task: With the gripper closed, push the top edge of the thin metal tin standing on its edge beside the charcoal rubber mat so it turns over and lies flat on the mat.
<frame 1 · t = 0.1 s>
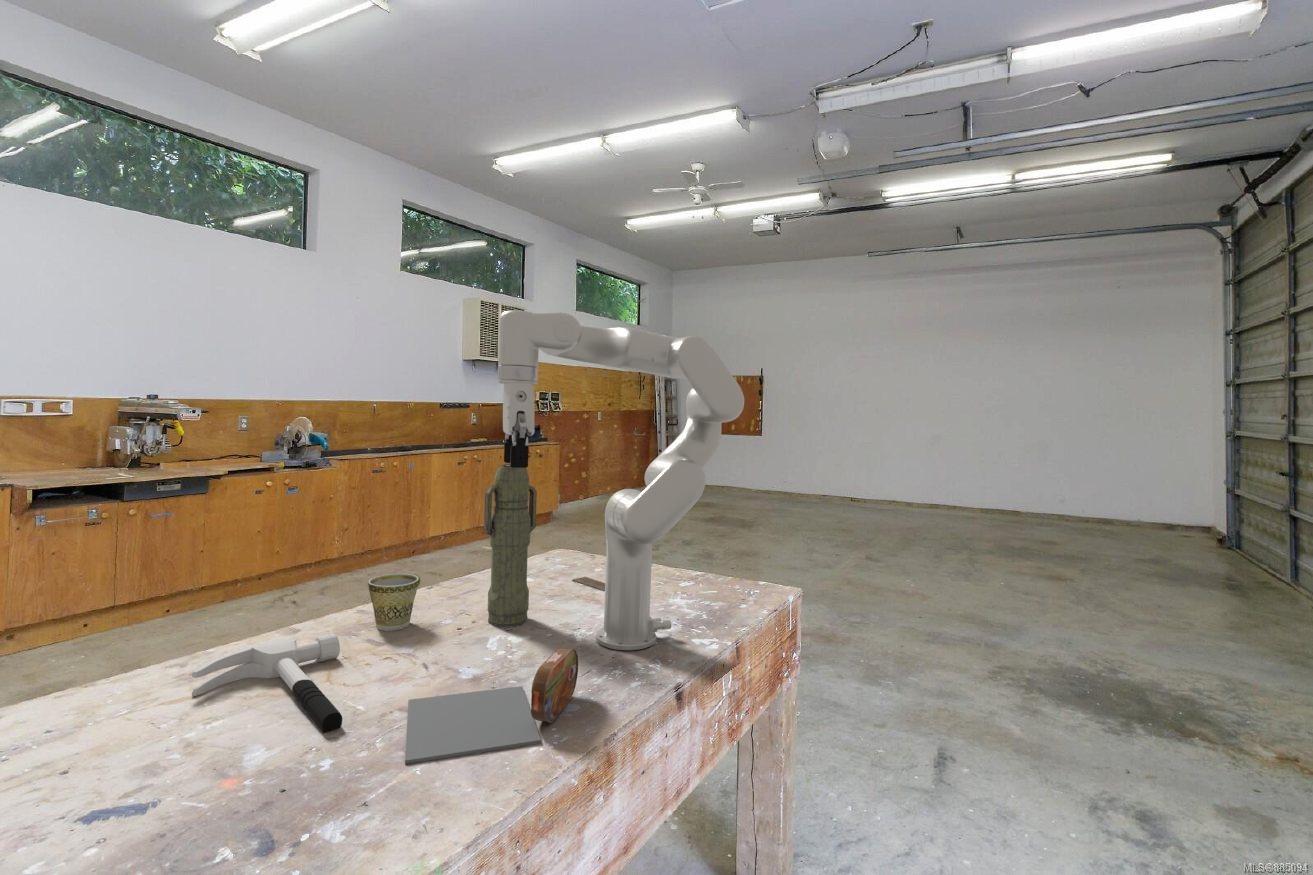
hand: (515, 465, 119), 37 cm above the table, tool pointing down, fingers open, 9 cm apart
claw hammer: (288, 702, 99), on the table
ceramic cup: (397, 624, 134), on the table
wooden plank: (598, 588, 169), on the table
mat: (470, 721, 94), on the table
tin: (552, 710, 98), on the table, touching mat
thermos: (508, 621, 139), on the table
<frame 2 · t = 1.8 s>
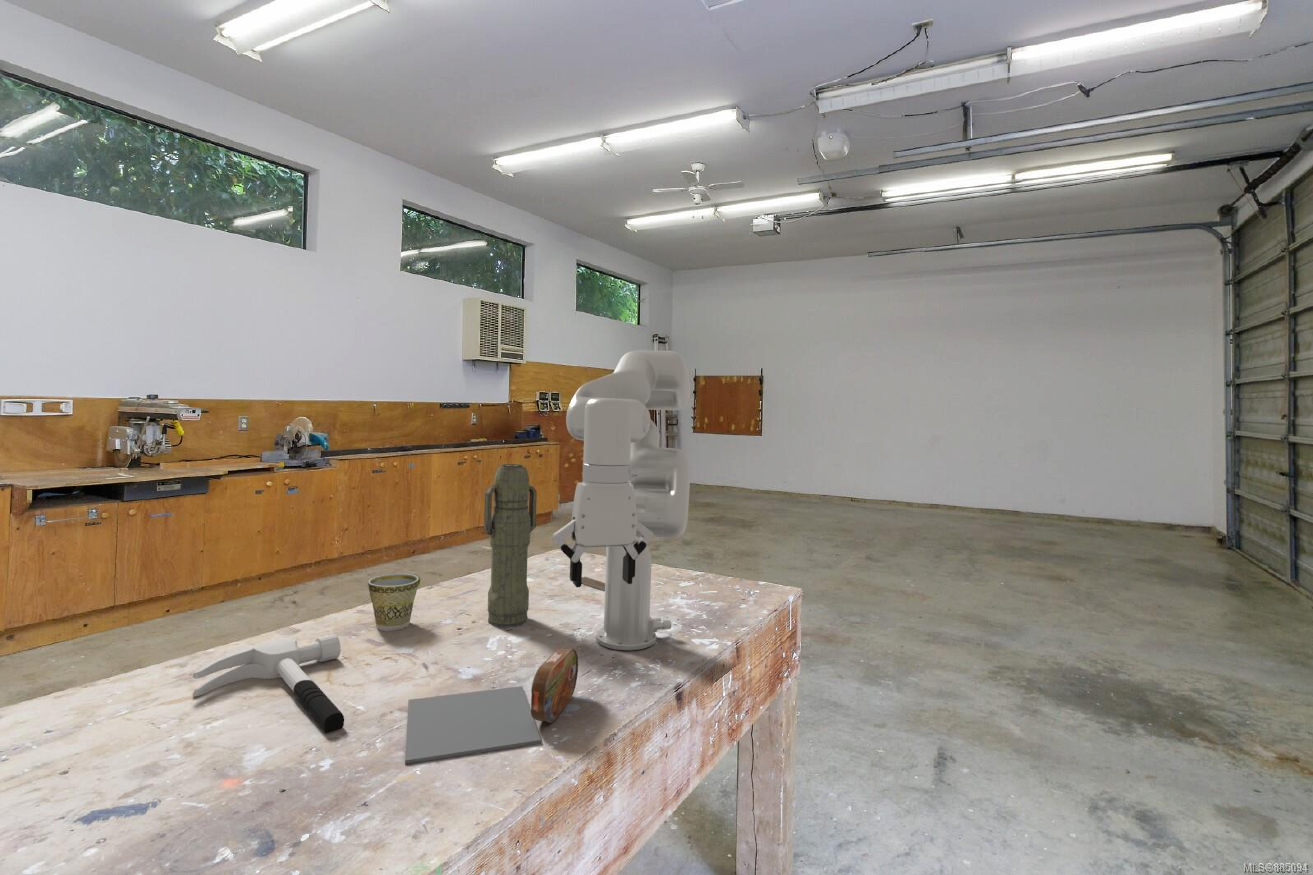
hand: (602, 582, 100), 20 cm above the table, tool pointing down, fingers open, 7 cm apart
nothing on the table moved.
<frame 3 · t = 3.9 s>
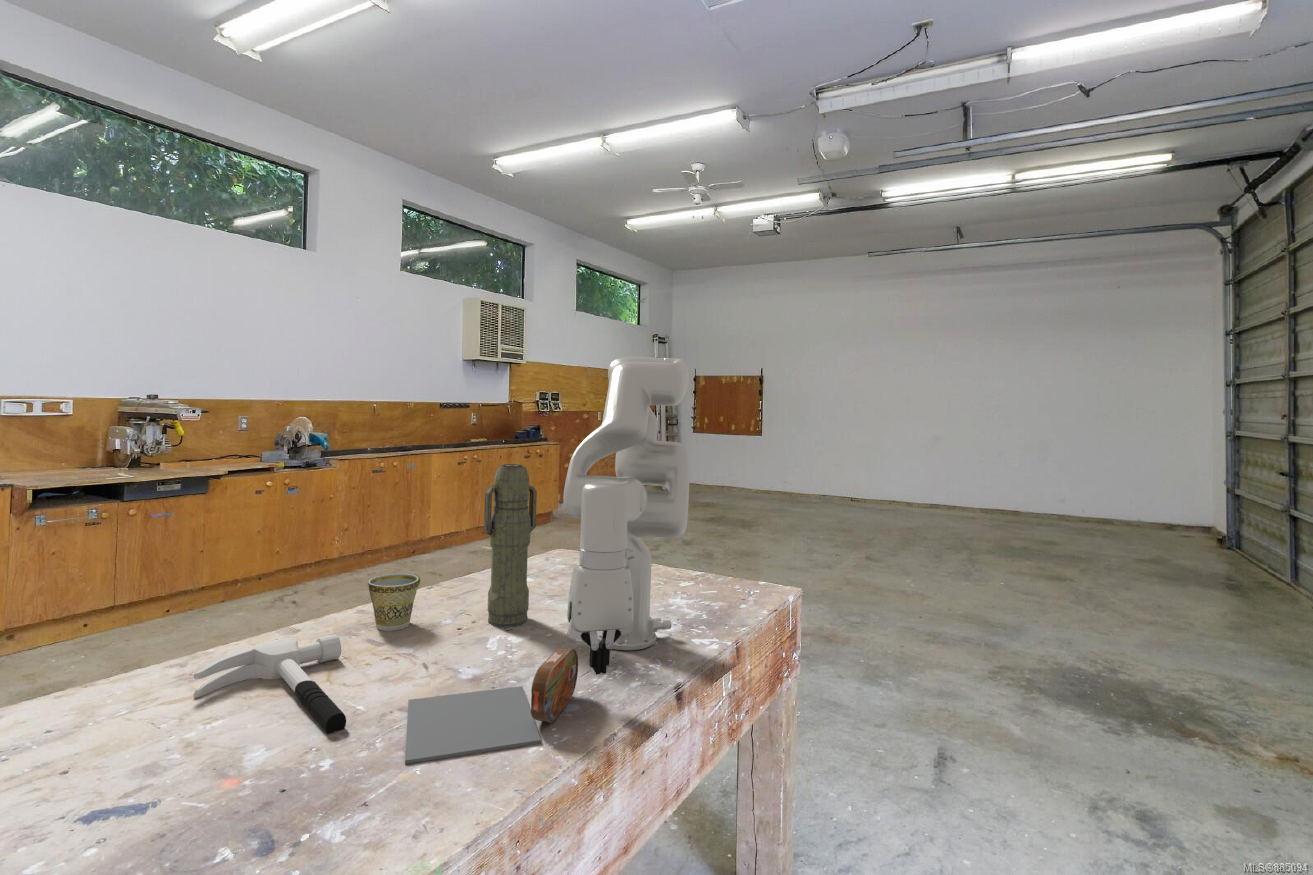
hand: (599, 670, 100), 6 cm above the table, tool pointing down, fingers closed
nothing on the table moved.
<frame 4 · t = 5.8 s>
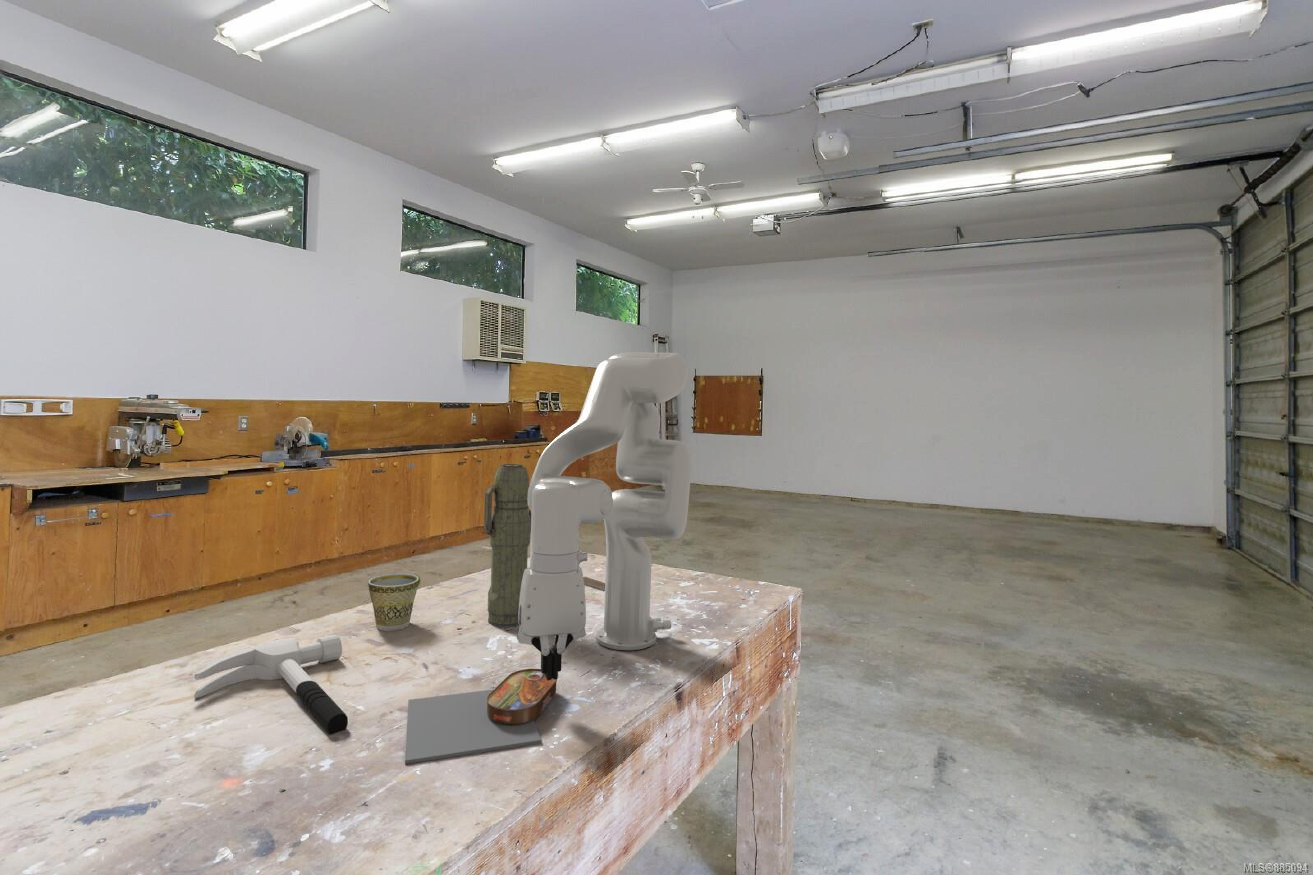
hand: (550, 676, 98), 6 cm above the table, tool pointing down, fingers closed
tin: (548, 700, 98), point 2 cm above the table, touching mat
everything else where it was.
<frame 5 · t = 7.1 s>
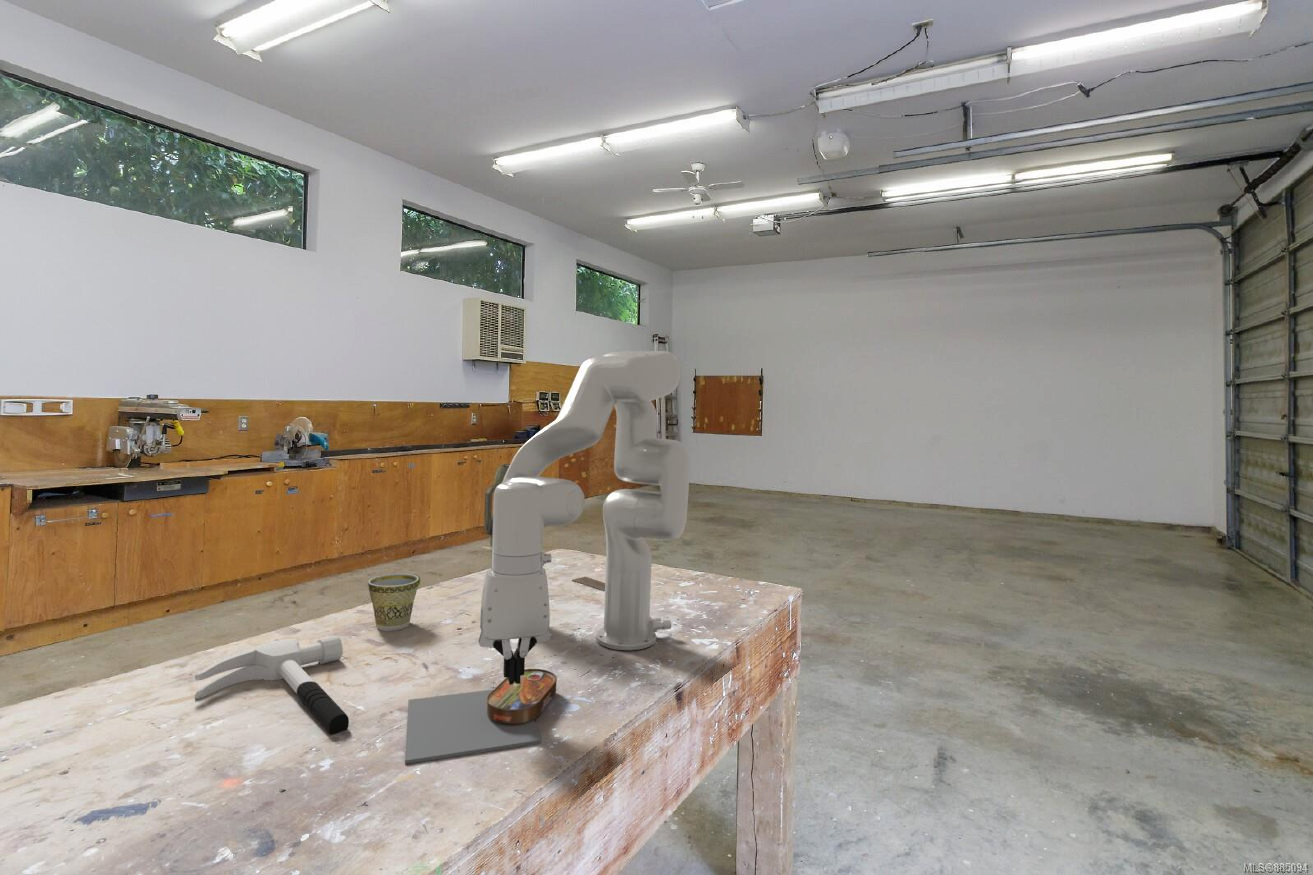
hand: (513, 680, 95), 6 cm above the table, tool pointing down, fingers closed
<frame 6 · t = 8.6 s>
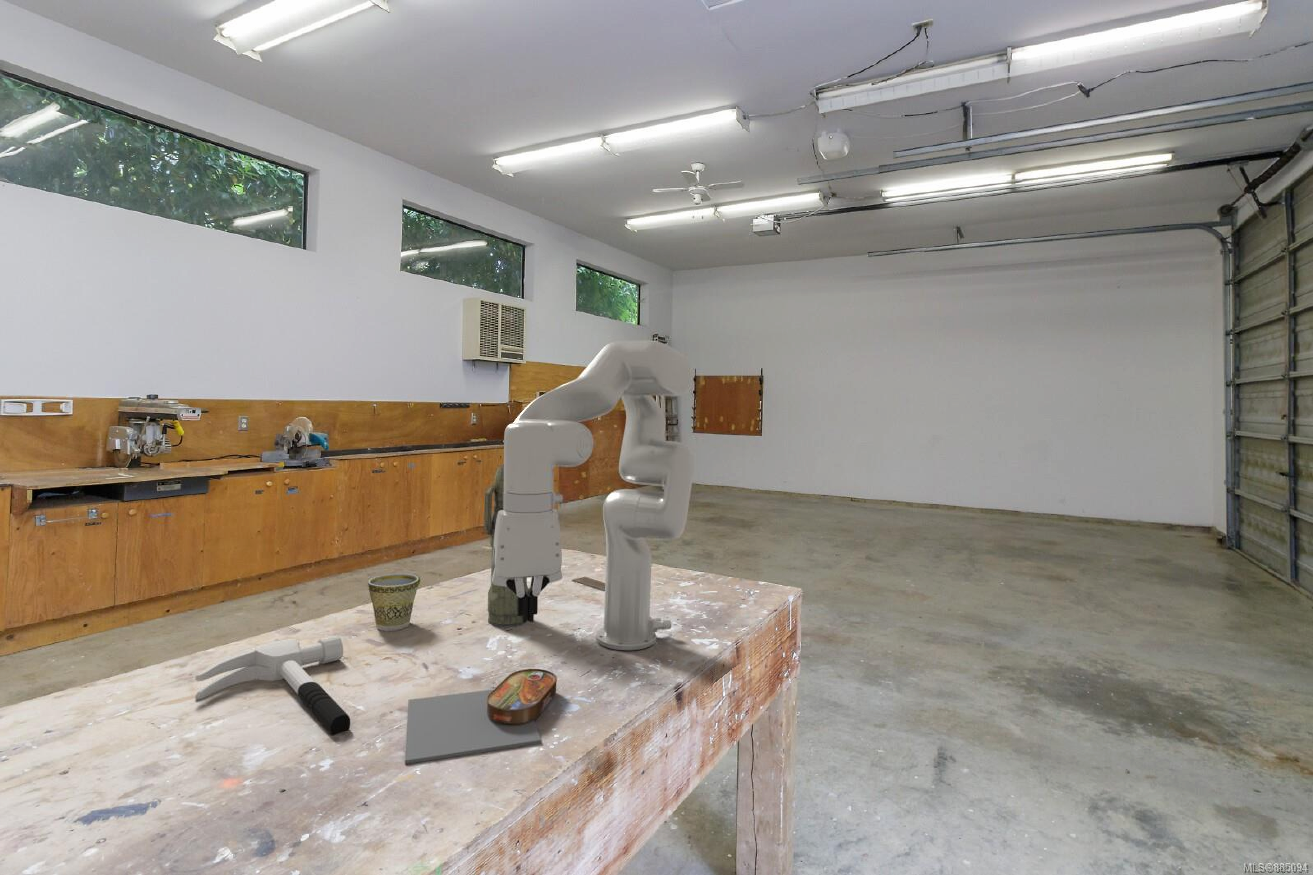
hand: (526, 619, 96), 15 cm above the table, tool pointing down, fingers closed
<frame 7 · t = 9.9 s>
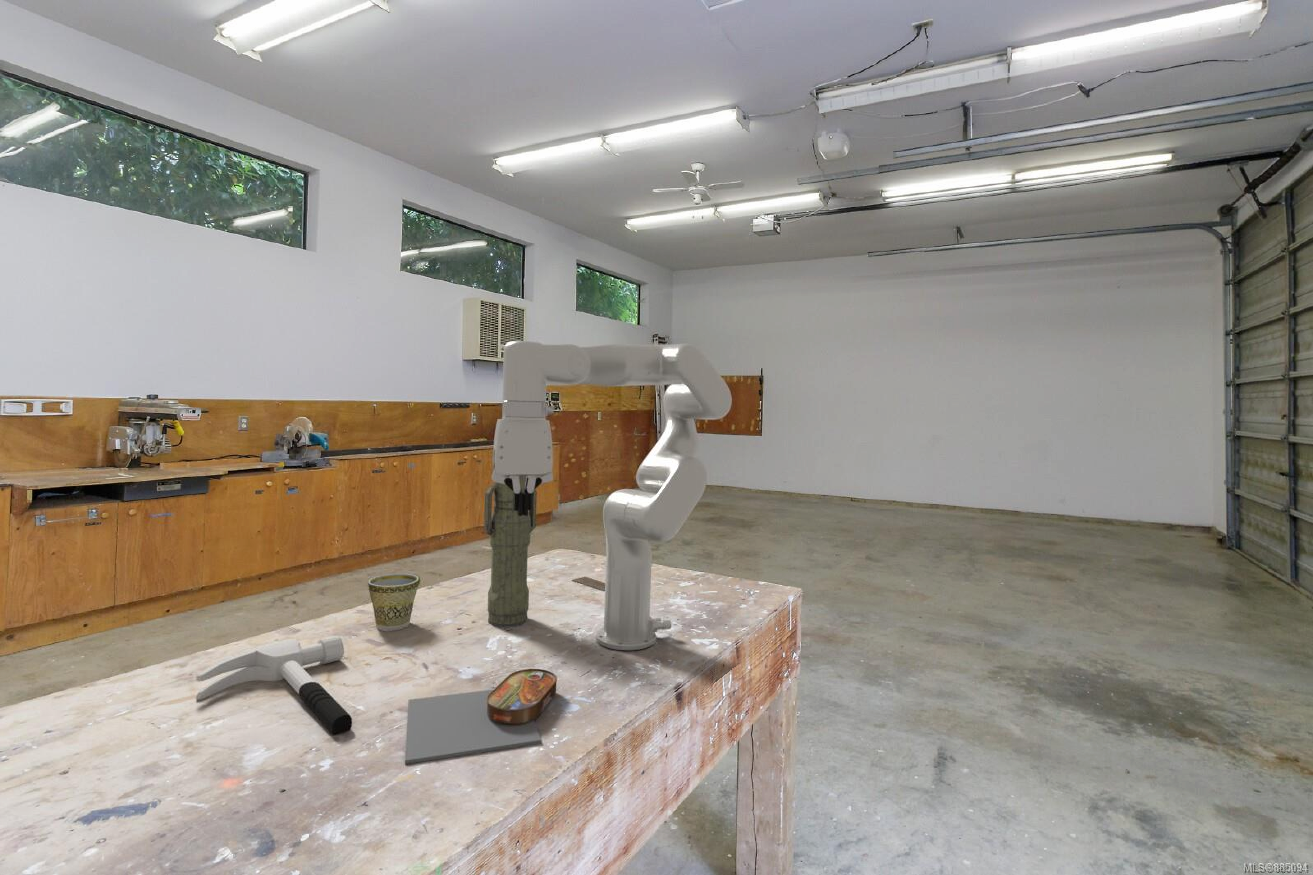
hand: (522, 514, 110), 29 cm above the table, tool pointing down, fingers closed
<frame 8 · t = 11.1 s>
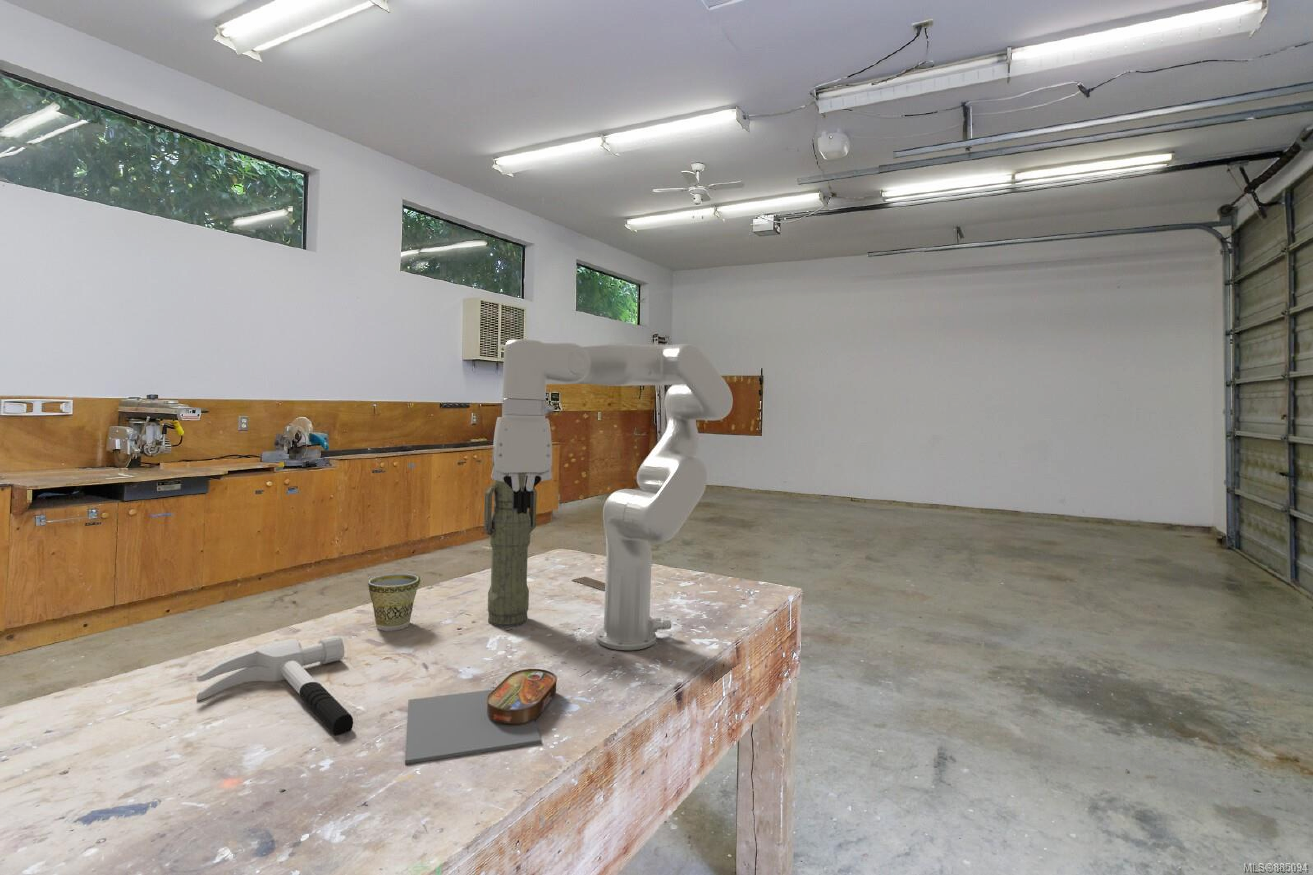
hand: (521, 512, 110), 29 cm above the table, tool pointing down, fingers closed
at the end: tin tilted 86°; tin inside the target area on the mat (7.8 cm from its centre), point 1.5 cm above the mat's base; tin touching mat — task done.
